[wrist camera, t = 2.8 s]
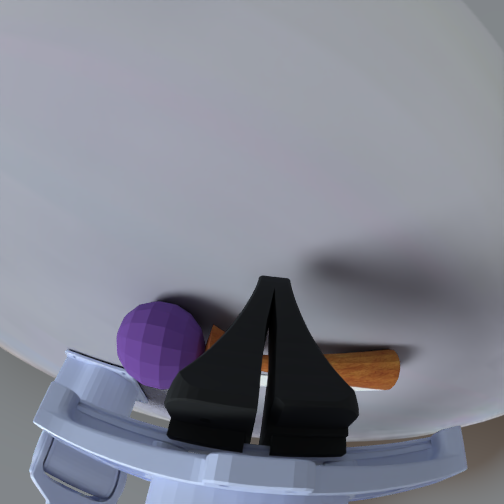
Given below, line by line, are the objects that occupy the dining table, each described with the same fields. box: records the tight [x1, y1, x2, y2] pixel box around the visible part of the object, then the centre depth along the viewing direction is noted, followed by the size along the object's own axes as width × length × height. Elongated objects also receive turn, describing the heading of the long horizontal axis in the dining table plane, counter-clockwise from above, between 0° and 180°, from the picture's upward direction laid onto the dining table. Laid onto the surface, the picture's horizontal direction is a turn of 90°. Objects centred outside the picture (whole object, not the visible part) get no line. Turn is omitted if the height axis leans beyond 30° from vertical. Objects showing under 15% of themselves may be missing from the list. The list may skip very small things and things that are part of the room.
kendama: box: [117, 301, 400, 390], centre depth 18 cm, size 6×6×20 cm
